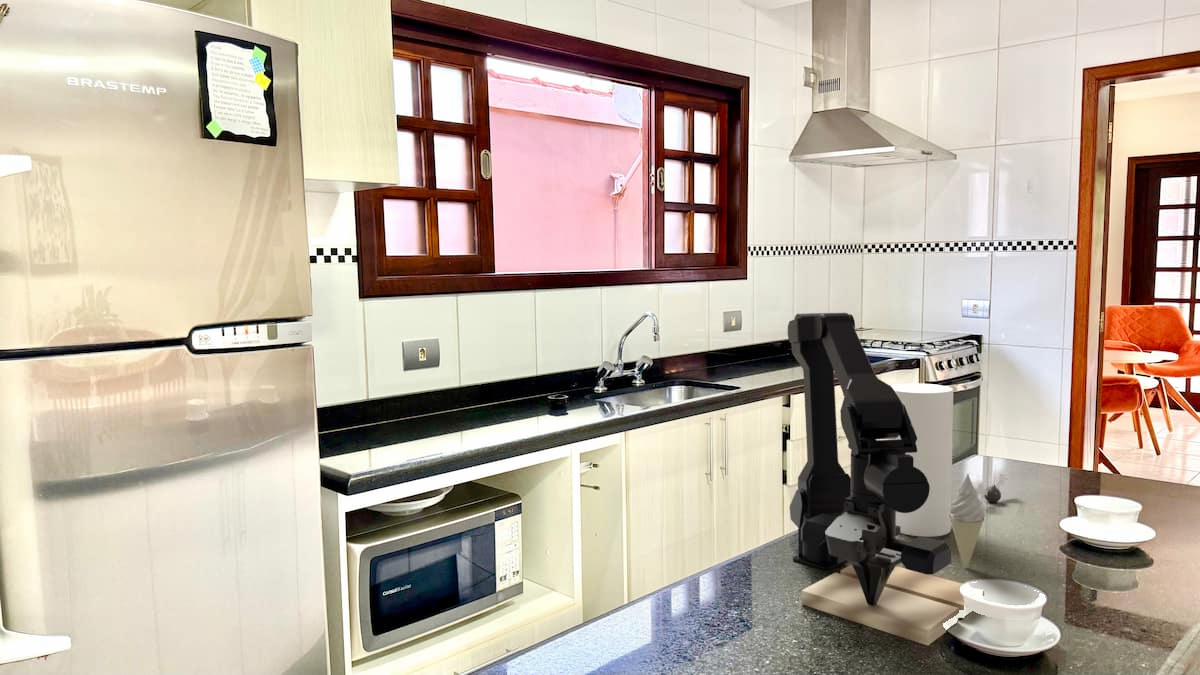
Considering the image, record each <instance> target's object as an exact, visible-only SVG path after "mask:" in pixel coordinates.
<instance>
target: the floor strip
mask: <svg viewBox="0 0 1200 675" xmlns="http://www.w3.org/2000/svg"><path fill="white" fill-rule="evenodd" d="M840 574H842V575H846V576H849V577H853V578H856V579H858V576H857V574H856V572H855V570H854V568H853V566H852V564H851V563H850V565H848V566H846V567H844V568H843V569H840ZM962 584H963V583H962V582H958V581H954V580H950V579H946V578H942V577H939V576H934V575H933V574H928V575H927V574H923V573H919V572H915V571H912V570H908V569H906V568H905V567H901V566H898V565H896V566H895V568H894V570H893V571H892V573H891V574H890V576H889V578H888V580H887V583H886V585H885V587H888V588H891V589H895V590H898V591H902V592H905V593H908V594H912V595H915V596H919V597H922V598H926V599H929V600H933V601H936V602H940V603H943V604H947V605H950V606H954V607H957V608H959V610H964V601H963V598H962V596H961V594H960V591H959V587H960V586H961V585H962Z"/></svg>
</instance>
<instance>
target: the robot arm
mask: <svg viewBox="0 0 1200 675" xmlns="http://www.w3.org/2000/svg"><path fill="white" fill-rule="evenodd" d="M793 318H794V319H791V320H789V322H788V325H787V337H788V338H787V339H788V341H789V343H791V354H792V355H793V357H794V358H795V360H796V361H797V362H798V364H799V365H800V367H801V368H802V373H803V393H804V412H805V438H806V453H807V454H806V456H807V459H806V460H807V462H806V463H805V465H804V467H803V468H802V470H801V472H800V474H799V475H798V476H797V489H796V491H795V493H794V495H793V497H792V499H791V502H790V504H789V517H790V521H791V522H792V523H793V524H794V525H795V526H796V527H797V528H798V530H797V531H798V532H797V533H798V534H797V536H798V537H797V539H798V540H797V550H798V552H797V554H796V555H794V556H793V557H792V561H794V562H797V563H799V564H800V563H801V564H804V565H807V566H812V567H814V568H818V569H822V570H825V571H829V570H831V569H833V568H836V567H837V566H839V565H841V564H843V563H845V562H846V561H847V562H848V563H849V564H850V565H851V564H852V566H853V568H854V570H855V572H856V574H857V576H858V579H859V582H860V585H861V587H862V590H863V593H864V596H865V598H866V601H867V604H869V605H872V606H874V605H875V604H877V602H878V600H879V597H880V595H881V593H882V591H883V589H884V587H885V585H886V583H887V580H888V578H889V576H890V574H891V573H892V571H893V570H894V568H895V566H898V565H899V564H902V565H903V566H904V568H905V569H908V570H912V571H915V572H919V573H923V574H927V575H935V574H936V573H938V572H939V571H942V569H944V568H946V567H948V566H949V565H951V564H952V550H951V548H950V546H949V545H948V543H947V542H946V541H944V540H943V541H942V540H938V539H934V538H931V537H922V536H917V537H916V538H914V539H912V540H911V541H906V540H901V539H897V536H899V535H901V533H900V526H896V511H897V512H901V513H910V512H913V511H916V510H917V509H919V508H920V507H921V506H923V505H924V503H925V502H926V500H927V498H928V496H929V490H930V487H929V484H928V481H927V478H926V476H925V475H924V473H923V472H921V471H920V470H919V469H917V468H916V467H914V466H913V456H911V455H909V454H905V453H915V452H917V446H916V443H915V442H916V441H917V436H916V433H915V431H914V428H913V426H912V423H911V421H910V418H909V415H908V413H907V410H906V408H905V406H904V404H902V402H901V400H900V398H899V397H898V395H897V394H896V392H895V391H894V389H893V388H892V387H891V385H890V384H888V383H887V382H884V381H883V380H881V379H879V378H878V376H877V374H876V373H875V371H874V369H873V367H872V364H871V361H870V359H869V357H868V355H867V354H866V351H865V349H864V346H863V344H862V342H861V340H860V338H859V336H858V335H859V334H858V333H857V331H856V323H855V322H856V321H855V318H854V315H853V314H850V313H849V314H848V312H814V313H813V312H812V313H796V315H795V316H794V317H793ZM835 377H836V379H837V381H838V384H839V387H840V389H841V391H842V393H843V397H844V398H843V400H842V404H841V407H840V410H839V411H840V424H841V427H842V429H843V432H844V435H845V438H846V439H847V442H848V444H847V447H848V448H849V449H850V450H851V451H850V475H849V473H846V471H845V469H843V467H842V466H841V464H840V463H839V455H838V454H839V452H838V451H839V450H838V433H837V432H838V428H837V409H836V407H837V406H836V391H835V390H836V388H835ZM898 436H900V438H901V439H898V440H887V439H896V438H897V437H898Z"/></svg>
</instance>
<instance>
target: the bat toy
mask: <svg viewBox="0 0 1200 675" xmlns="http://www.w3.org/2000/svg"><path fill="white" fill-rule="evenodd" d="M1008 480H1009V479H1008V477H1007V476H1006V475H1004V474H999V475H998V480H997V482H996V484H992V485H991V486H989V487H987V488H984V485H983V482H982V481H981V482H980V483H979V484H977V486H976V488H975V490H976V491H977V497H978V496H979V495H981V499H982V500H984V499H985V500H986V501H987V502H989V503H992V504H993V503H997V502H999V501H1000V500H1001V498H1002V493H1001V491H1000V487H1001V486H1003V487H1005V481H1008Z"/></svg>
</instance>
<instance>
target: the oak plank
mask: <svg viewBox="0 0 1200 675" xmlns="http://www.w3.org/2000/svg"><path fill="white" fill-rule="evenodd" d="M801 605H802V606H805V607H809V608H811V609H815V610H818V611H821V612H824V613H827V614H830V615H834V616H836V617H839V618H843V619H845V620H848V621H851V622H854V623H858V624H861V625H864V626H867V627H870V628H873V629H876V630H878V631H879V630H880V631H882V632H886V633H888V634H891V635H895V636H897V637H900V638H904V639H905V640H906V639H907V640H909V641H912V642H916V643H919V644H922V645H925V646H927V647H928V646H930V645H931V644H933V642H935V641H936V640H938V639H939V638H941V637H942V636H943V635H944V634H945V633H947V632H946V630H945V628H944V627H943V623H945V622H946V621H948V620H949V619H951V618H953V617H954V616H956V615H957V614H958V613H959V608H957V607H954V606H950V605H947V604H943V603H940V602H936V601H933V600H929V599H926V598H922V597H919V596H915V595H912V594H908V593H905V592H902V591H898V590H895V589H891V588H888V587H884V589H883V591H882V593H881V595H880V597H879V600H878V602H877V604H875V605H874V606H872V605H869V604H867V601H866V598H865V596H864V593H863V590H862V587H861V585H860V582H859V579H856V578H853V577H849V576H846V575H842V574H841V573H839V572H834V573H832V574H830V575H828V576H826V577H823V579H820V580H819V581H816V582H815V583H813V584H811V585H809V586H807V587H806V588H804V589H802V590H801Z"/></svg>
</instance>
